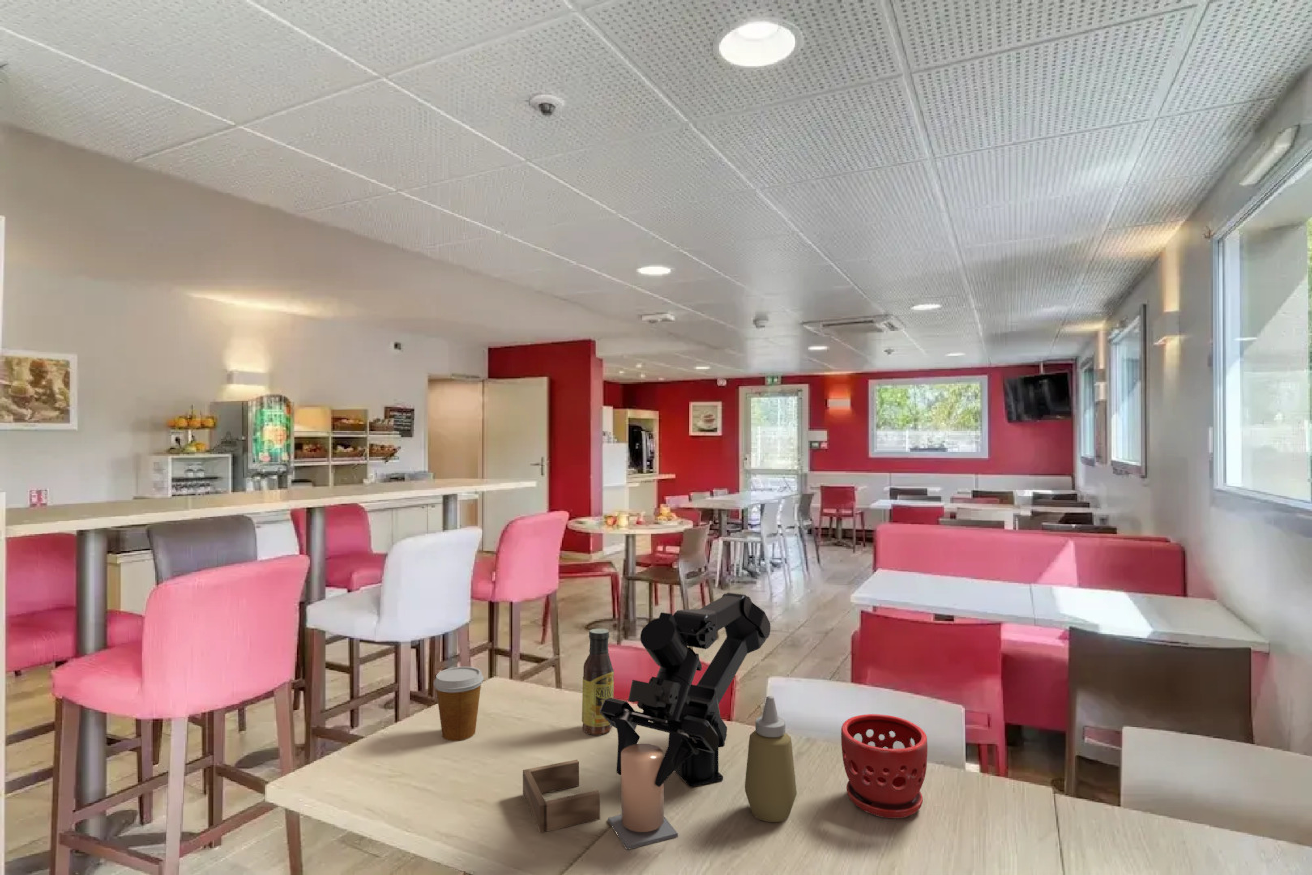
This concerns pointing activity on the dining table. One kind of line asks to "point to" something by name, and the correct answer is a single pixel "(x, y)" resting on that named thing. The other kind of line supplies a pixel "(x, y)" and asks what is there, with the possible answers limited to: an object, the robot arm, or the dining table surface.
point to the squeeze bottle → (770, 767)
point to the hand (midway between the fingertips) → (637, 779)
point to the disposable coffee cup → (458, 701)
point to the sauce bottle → (597, 683)
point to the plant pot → (884, 765)
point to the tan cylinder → (641, 788)
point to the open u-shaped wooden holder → (560, 809)
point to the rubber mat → (641, 833)
